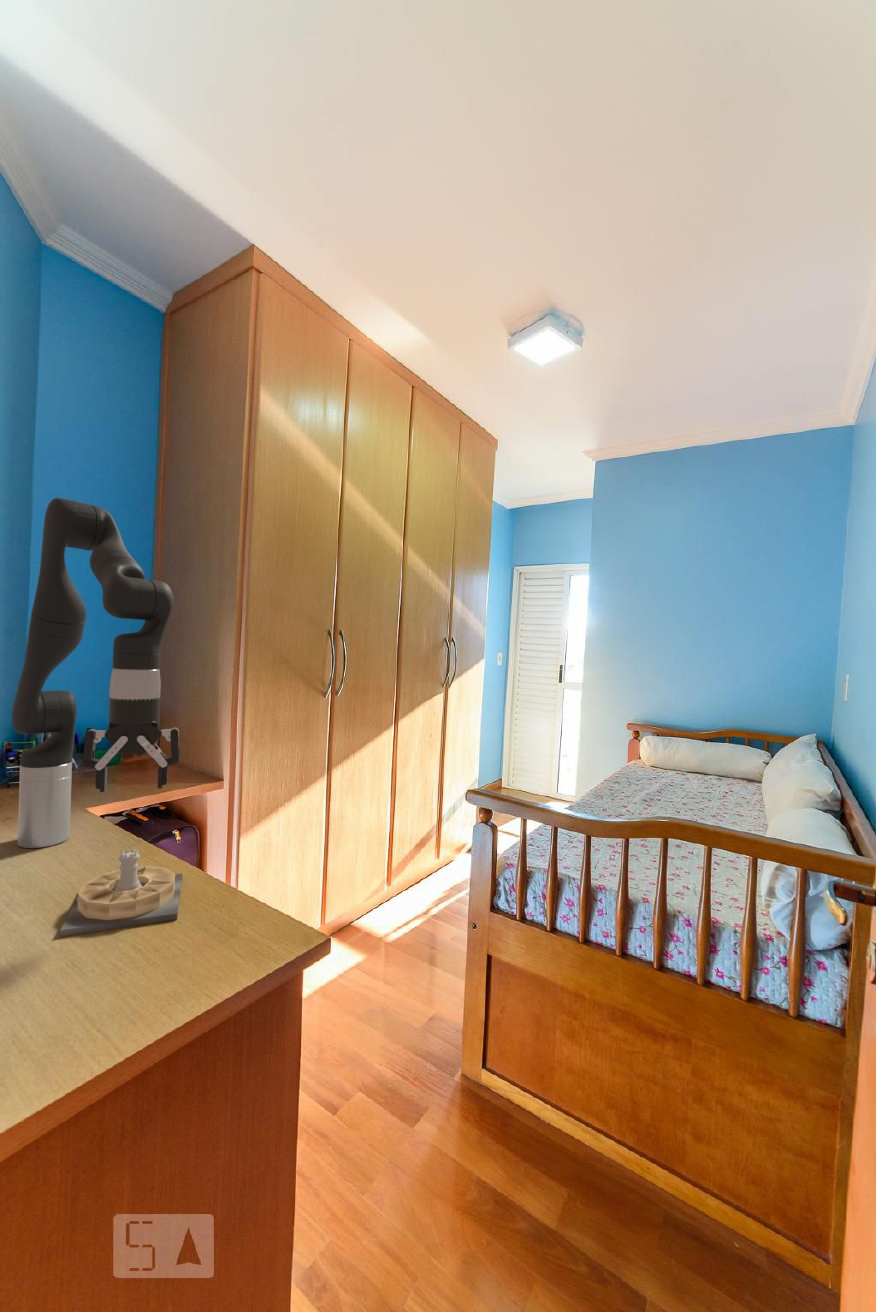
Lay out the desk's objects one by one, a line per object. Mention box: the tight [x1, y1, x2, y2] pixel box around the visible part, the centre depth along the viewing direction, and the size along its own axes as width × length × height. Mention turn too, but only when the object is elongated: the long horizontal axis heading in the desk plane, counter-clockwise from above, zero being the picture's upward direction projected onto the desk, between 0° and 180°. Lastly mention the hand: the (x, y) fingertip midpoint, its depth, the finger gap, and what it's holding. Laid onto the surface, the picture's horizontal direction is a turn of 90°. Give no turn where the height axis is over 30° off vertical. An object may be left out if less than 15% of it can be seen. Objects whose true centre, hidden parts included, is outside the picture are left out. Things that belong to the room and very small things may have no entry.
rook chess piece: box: [114, 849, 142, 892], centre depth 90 cm, size 4×4×8 cm
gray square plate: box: [59, 865, 183, 938], centre depth 90 cm, size 16×16×4 cm
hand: (132, 789), depth 90 cm, fingers open, 8 cm apart
